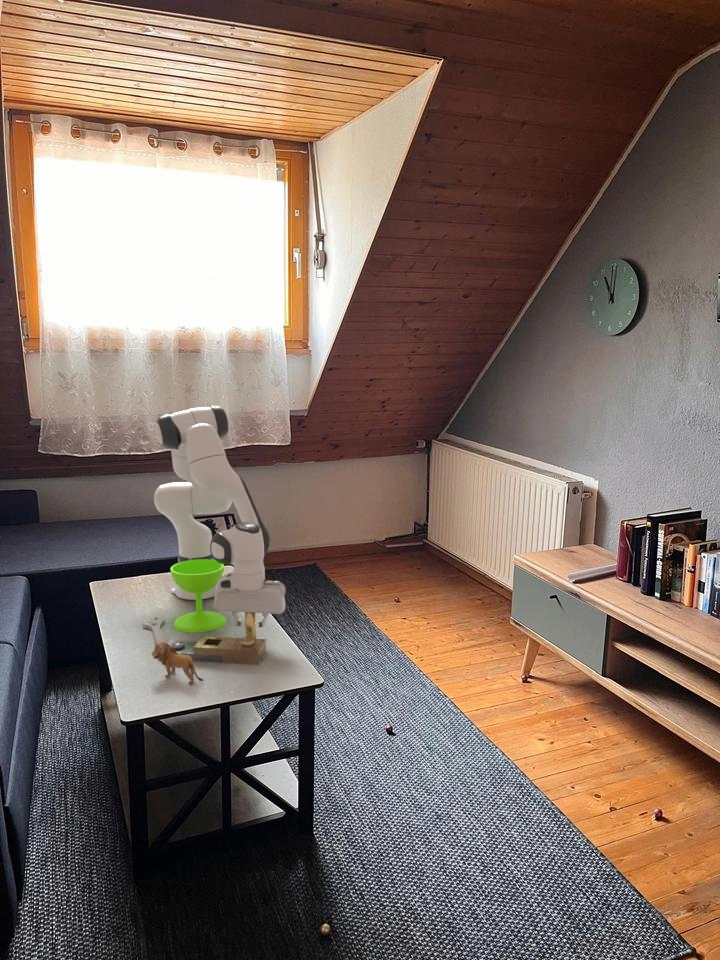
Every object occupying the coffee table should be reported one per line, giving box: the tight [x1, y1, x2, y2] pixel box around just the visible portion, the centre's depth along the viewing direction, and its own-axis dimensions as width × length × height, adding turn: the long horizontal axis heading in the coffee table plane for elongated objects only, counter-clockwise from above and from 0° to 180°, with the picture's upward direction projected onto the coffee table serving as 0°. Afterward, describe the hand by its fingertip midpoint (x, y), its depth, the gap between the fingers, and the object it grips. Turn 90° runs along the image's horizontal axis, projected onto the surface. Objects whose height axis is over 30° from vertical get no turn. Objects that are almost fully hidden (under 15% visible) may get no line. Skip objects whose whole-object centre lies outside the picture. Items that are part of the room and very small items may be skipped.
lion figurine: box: [151, 642, 204, 686], centre depth 193 cm, size 15×5×9 cm, turn 69°
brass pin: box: [244, 612, 257, 639], centre depth 215 cm, size 3×3×10 cm
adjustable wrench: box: [142, 615, 167, 644], centre depth 221 cm, size 25×6×2 cm, turn 17°
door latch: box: [166, 635, 267, 666], centre depth 207 cm, size 8×28×5 cm, turn 82°
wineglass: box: [170, 559, 227, 633], centre depth 229 cm, size 16×16×18 cm
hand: (250, 626), depth 215 cm, fingers open, 5 cm apart
